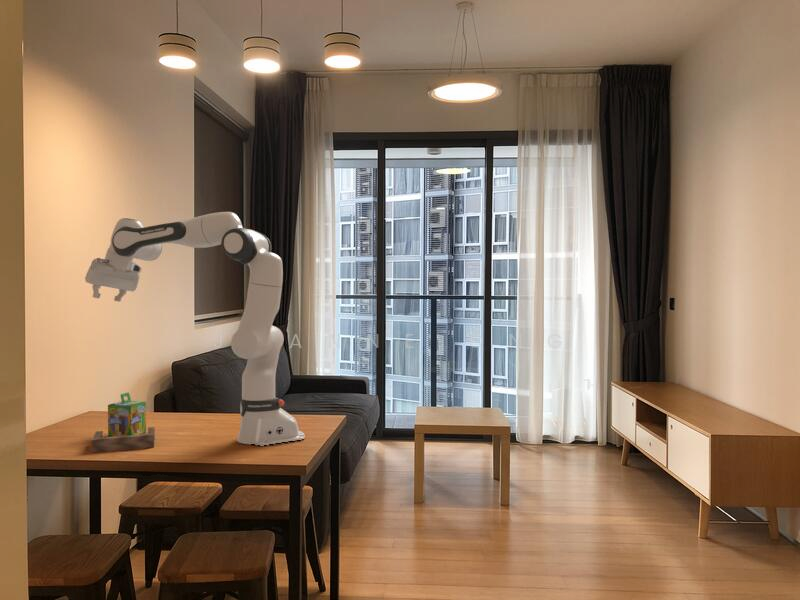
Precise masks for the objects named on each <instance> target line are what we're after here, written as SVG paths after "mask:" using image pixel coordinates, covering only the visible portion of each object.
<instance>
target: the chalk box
mask: <svg viewBox="0 0 800 600" xmlns="http://www.w3.org/2000/svg"><path fill="white" fill-rule="evenodd" d="M125 397H126V398H127V399H126V400H125ZM120 399H121V401H117V402H114V403H110V404H108V405H107V426H108V427H107V432H108V433H107V434H108V435H107V437H117V436H130V435H142V434H144V433H145V434H147V402H146V401H142V400H140V401H139V400H131V399H132V398H131V395H130V393H129V392H125V393H121V394H120Z"/></svg>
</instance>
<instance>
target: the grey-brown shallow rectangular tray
mask: <svg viewBox="0 0 800 600" xmlns="http://www.w3.org/2000/svg"><path fill="white" fill-rule="evenodd" d="M155 430H156V428H155V427H154V426H152V427H151V426H149V427H148V428H147V433H145V434H142V435H130V436H117V437H108V436H107V437H104V435H103V433H104V432H103V430H99V431H95V433H94V435H93V436H92V438H91V453H92V452H94V453H103V451H106V452H115V451H116V450H117V451H126V450H139V449H148V448H147V447H151V448H155V442H154V441H155V440H156V437H155V436H156V435H155V433H156V431H155Z"/></svg>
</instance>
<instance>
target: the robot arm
mask: <svg viewBox="0 0 800 600" xmlns="http://www.w3.org/2000/svg"><path fill="white" fill-rule="evenodd" d="M163 244H176V245H182V246H186V247H190V248H193V249H195V248H196V249H204V248H211V247H216V246H219V245H221V246H220V247H221V249H222V251H223V252H224V254H225V255H226V256H227V257H229V259H232V260H234V261H236V262H238V263H241V264H242V265H247V266H248V268H249V278H248V279H249V280H248V287H247V296H246V302H245V307H244V311H243V314H242V316H241V319H240V322H239V325H238V327H237V330H236V331H235V333H234V334H233V335H232V336H231V341H230V346H231V350H232V352H233V353H234V354H235V355H236V356H237V357H238V358H240V359H244V360H245V359H246V360H247V361H246V366H245V369H244V370H243V373H242V375H241V376H242V377H241V398H240V405H239V409H240V410H239V411H240V413H239V414H240V415H241V417H240V426H239V432H238V436H237V439H236V441H237V443H239V444H244V445H251V444H255V445H254V446H258V445H260V446H259V447H265V446H264V445H267V446H270V445H269V444H274V445H276V444H275V443H281V442H288V441H295V440H301V439H304V438H306V435H305V433H304V432H303V431H301V430H299V426H298V421H297V420H296V418H295V417H294V416H293V415H292V414H290V413H289V412H287V411H286V410H284V409H283V408H281V407H284V405H285V401H284V400H283V399H281V398H279V397H276V374H277V367H278V364H279V357H280V352H281V348H282V347H283V344H284V340H285V339H284V334H283V332H282V330H281V329H280V328H279V327H278V326H275V325H273V323H274V321H275V318H276V316H277V314H278V313H279V310H280V308H281V307H280V305H281V297H282V290H283V282H284V279H283V278H284V271H283V270H284V269H283V267H284V266H283V260H282V258H281V256H279V255H278V254H276V253H274V252H273V251H272V249H273V248H272V243H271V241H270V239H269V238H268V237H267V236H266V235H265V234H264V233H262V232H259V231H256V230H253V229H250V228H249V229H248V228H244V227H243V224H242V221H241V219H240V218H239V216H238V215H237V213H235V212H232V211H220V212H219V211H218V212H214V213H213V212H212V213H207V214H203V215H199V216H195V217H191V218H188V219H184V220H178V221H174V222H167V223H161V224H156V225H155V224H154V225H149V226H144V225H143V223H142V222H141V221H139V220H137V219H132V218H125V217H123V218H122V217H121V218H120V219H119V220H118V221H117V222H116V223H115V225H114V228H113V230H112V234H111V237H110V245H109V247H108V248H107V249H106V253H105V257H104V258H100V257H97V258H93V260H92V261H91V264H90V265H89V268H88V270H87V271H86V274H85V277H84V280H85V283H88V284H90V285H92V291H93V293H92V298H95V299H100V298H101V293H100V291H99V290H100V289H101V287H105V288H106V287H107V288H110V289H111V288H112V289H117V290H118V292H119V293H118V294H117V295H115V296H114V297H113V298H114V299H113V300H114V301H115V302H119V303H120V302H121V301H122V298H123V297H124V296H125V295H126V294H127V291H128V292H135V290H137V288H138V285H139V281H140V274H139V273H142V269H143V268H142V266H140V265H139V264H138V263H136V262H134V261H133V260H134V259H136V260H142V261H147V262H150V261H151V262H152V261H155V260H156V259H158V258H159V257H160V255H161V254H162V250H163ZM304 440H305V439H304ZM301 441H302V440H301ZM295 442H296V441H295ZM288 443H289V442H288ZM281 444H282V443H281Z"/></svg>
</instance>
